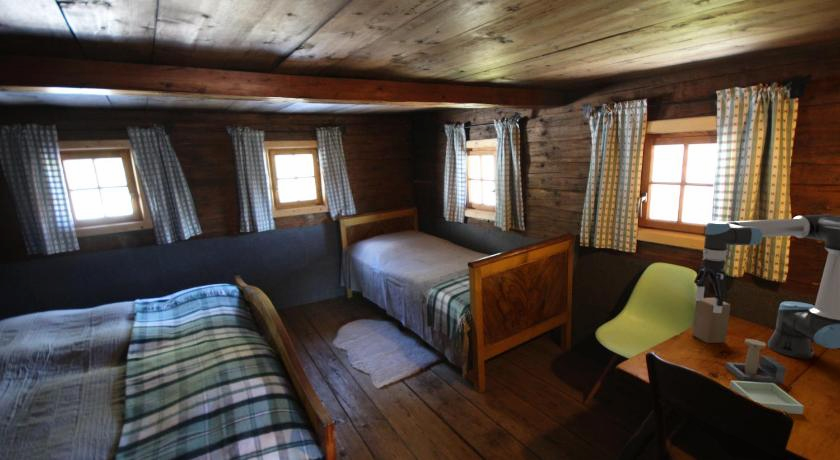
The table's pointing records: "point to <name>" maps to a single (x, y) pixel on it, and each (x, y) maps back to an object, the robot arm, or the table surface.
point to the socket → (760, 371)
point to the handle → (753, 356)
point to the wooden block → (710, 321)
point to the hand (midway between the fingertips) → (707, 306)
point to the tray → (767, 395)
